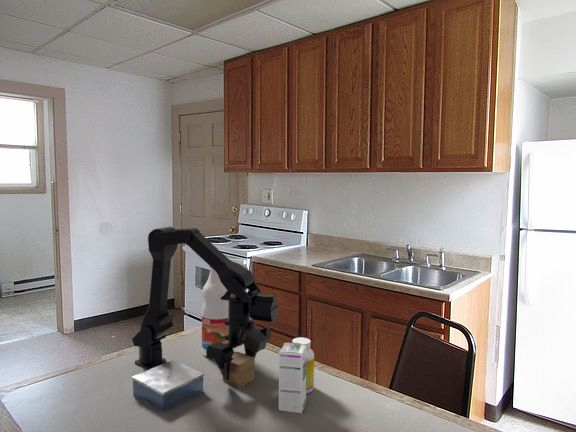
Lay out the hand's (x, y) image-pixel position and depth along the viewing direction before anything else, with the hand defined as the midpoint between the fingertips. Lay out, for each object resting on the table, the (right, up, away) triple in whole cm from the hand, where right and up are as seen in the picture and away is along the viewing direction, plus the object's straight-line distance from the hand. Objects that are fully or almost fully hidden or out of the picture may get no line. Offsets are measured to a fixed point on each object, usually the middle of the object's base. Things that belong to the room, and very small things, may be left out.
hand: (238, 373), depth 114 cm
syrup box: (+14, -3, -12) cm, 19 cm away
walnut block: (0, -2, 0) cm, 2 cm away
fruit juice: (-9, 0, +17) cm, 19 cm away
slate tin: (-17, -2, -8) cm, 18 cm away
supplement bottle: (+16, -3, -4) cm, 17 cm away
